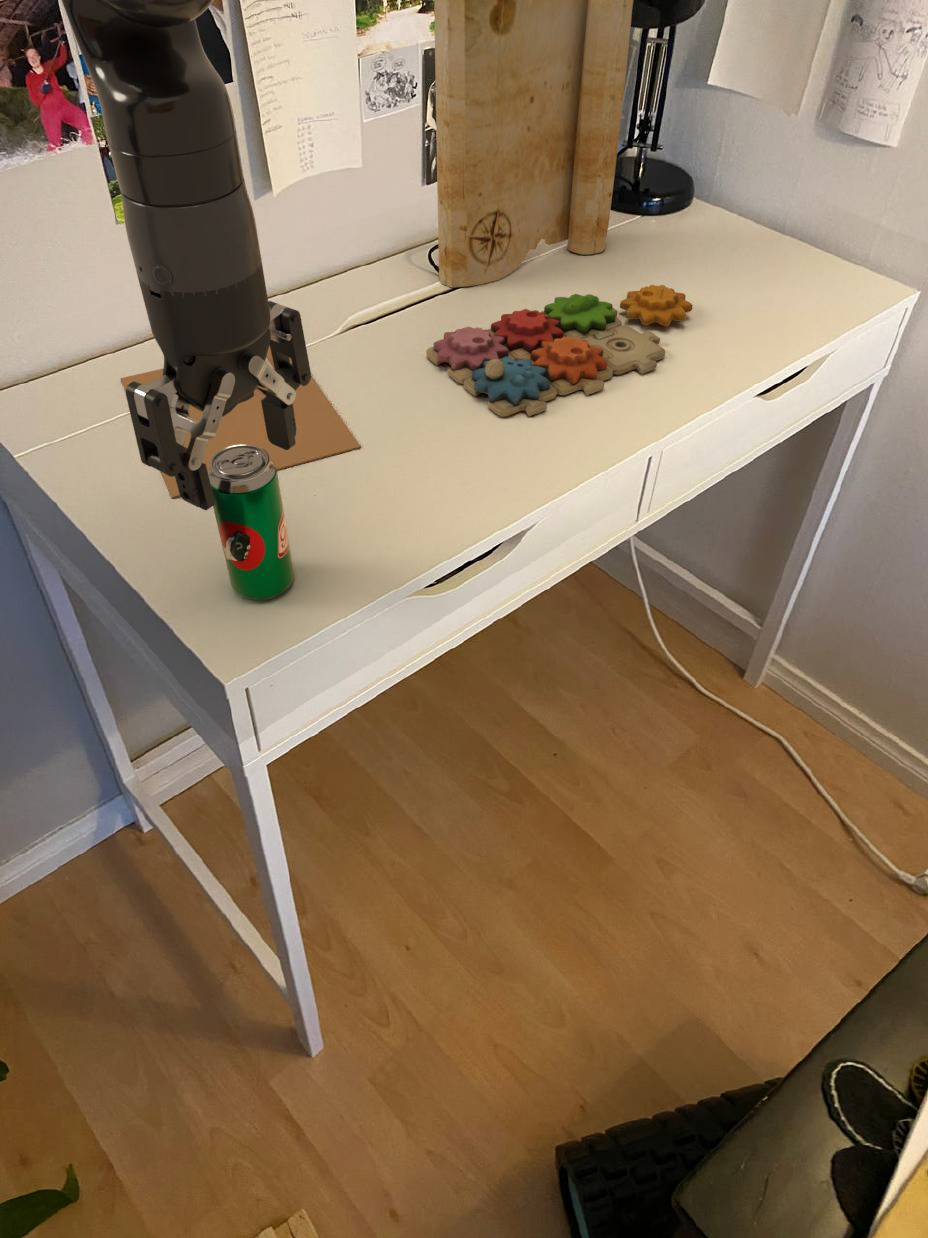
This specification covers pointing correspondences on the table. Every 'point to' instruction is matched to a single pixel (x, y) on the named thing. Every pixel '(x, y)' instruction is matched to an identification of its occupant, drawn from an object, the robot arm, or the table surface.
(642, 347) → the gear puzzle
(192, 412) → the kraft paper
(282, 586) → the soda can
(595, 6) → the parchment
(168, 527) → the table surface
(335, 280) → the table surface
